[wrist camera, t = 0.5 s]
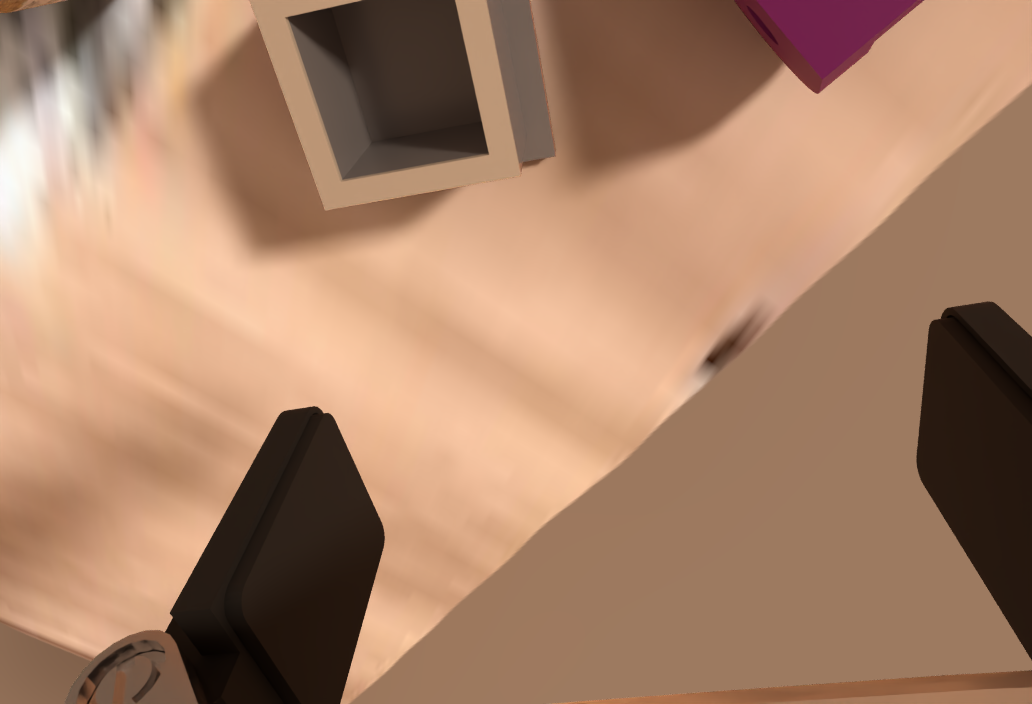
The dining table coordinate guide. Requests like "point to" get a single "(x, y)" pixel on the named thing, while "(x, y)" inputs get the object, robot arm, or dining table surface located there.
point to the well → (409, 92)
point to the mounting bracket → (823, 32)
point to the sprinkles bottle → (23, 4)
